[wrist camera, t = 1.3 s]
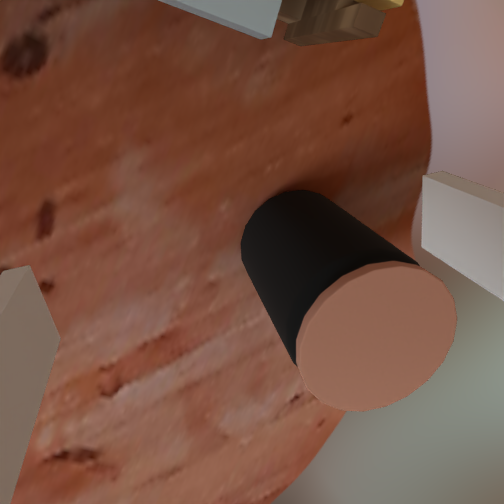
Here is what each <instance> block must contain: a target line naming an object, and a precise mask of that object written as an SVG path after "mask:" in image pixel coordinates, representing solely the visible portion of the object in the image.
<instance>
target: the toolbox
mask: <svg viewBox="0 0 504 504" xmlns="http://www.w3.org/2000/svg"><path fill="white" fill-rule="evenodd" d="M385 15H386V13H383V12H381V11H379V10H377V9H374V8H372V7H370V6H368V5H366V4H363V3H358V2H356V1H354V0H282V2H281V6H280V9H279V12H278V16H277V19H278V20H280V21H283V22H285V23H288V27H287V30H286V33H285V37H284V40H287V41H289V42H292V43H294V44H297V45H299V46H306V45H314V44H322V43H331V42H339V41H347V40H355V39H363V38H371V37H378V34H379V32H380V29H381V26H382V23H383V21H384V18H385Z"/></svg>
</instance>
